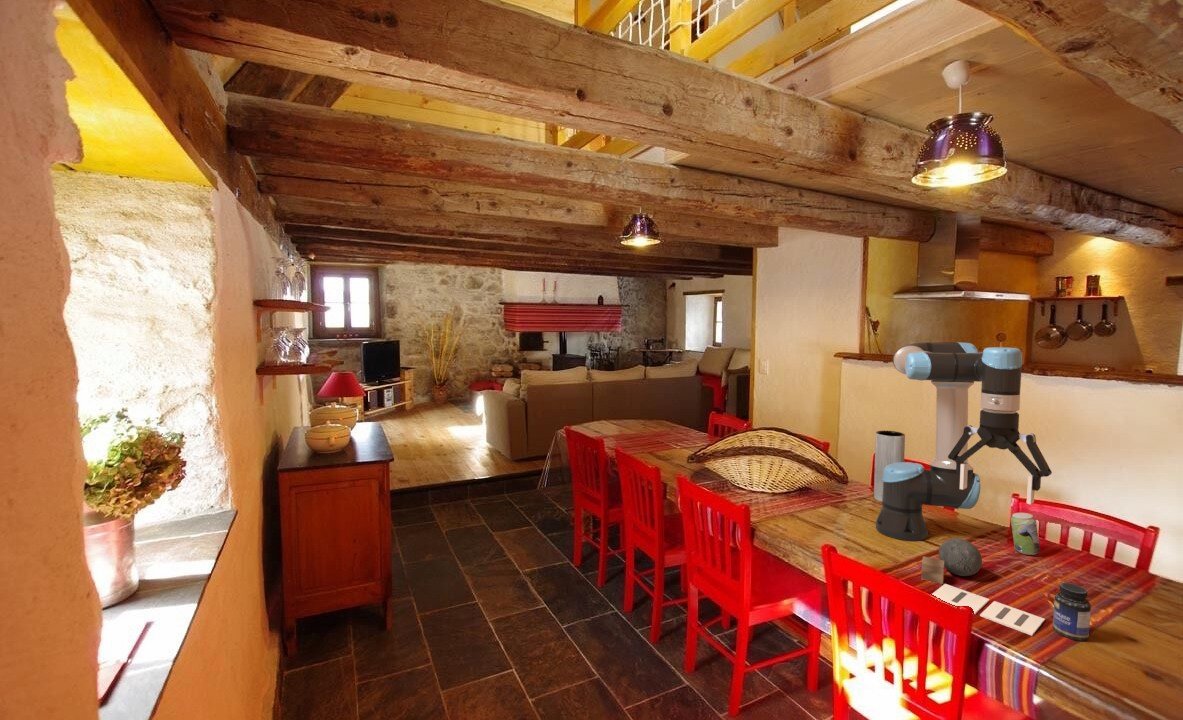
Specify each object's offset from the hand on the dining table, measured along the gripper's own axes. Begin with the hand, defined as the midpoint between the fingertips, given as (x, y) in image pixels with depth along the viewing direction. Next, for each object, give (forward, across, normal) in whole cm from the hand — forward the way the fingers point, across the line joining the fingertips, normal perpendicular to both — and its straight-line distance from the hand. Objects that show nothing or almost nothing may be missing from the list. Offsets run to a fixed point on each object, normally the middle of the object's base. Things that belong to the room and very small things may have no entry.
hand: (995, 495), depth 128 cm
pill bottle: (+29, +15, +1) cm, 33 cm away
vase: (+29, -51, +60) cm, 84 cm away
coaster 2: (+29, +5, -2) cm, 29 cm away
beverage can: (+29, -4, +44) cm, 53 cm away
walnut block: (+29, -14, +4) cm, 33 cm away
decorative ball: (+29, -11, +13) cm, 34 cm away
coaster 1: (+29, -6, -2) cm, 29 cm away
